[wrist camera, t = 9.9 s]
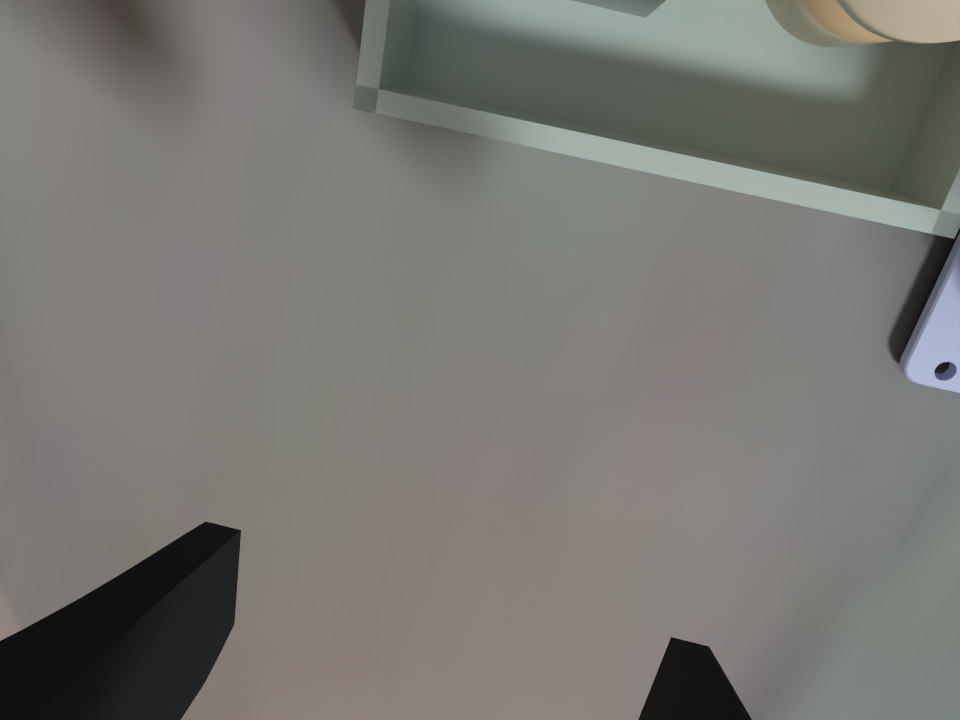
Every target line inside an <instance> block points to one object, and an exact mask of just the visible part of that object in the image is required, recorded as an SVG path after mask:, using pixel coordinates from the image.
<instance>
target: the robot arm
mask: <svg viewBox="0 0 960 720" xmlns="http://www.w3.org/2000/svg"><path fill="white" fill-rule="evenodd" d="M943 362H949V368H948V369H947V370H946V371H945V372H944V373H942V374H940V375H934V372H935V368H936V367H937V366H938V365H939V364H941V363H943ZM899 365H900V369H901V372H902V373H903V374H904V375H905V376H906V377H907V378H908V379H909V380H910V381H913V382H915V383H918V384H922V385H926V386H931V387H935V388H940V389H944V390H948V391H953V392H957V393H960V233H959V235H958V237H957V239H956V241H955V243H954V246H953V248H952V250H951V252H950V254H949V256H948V258H947V261H946V263H945V265H944V267H943V269H942V271H941V273H940V275H939V278H938V280H937V282H936V284H935V286H934V288H933V290H932V292H931V295H930V297H929V299H928V301H927V303H926V305H925V307H924V310H923V312H922V314H921V316H920V318H919V320H918V322H917V324H916V327H915V329H914V331H913V333H912V335H911V337H910V339H909V341H908V344H907V346H906V348H905V350H904V352H903V354H902V356H901V360H900V364H899ZM240 537H241V530H238V529H233V528H229V527H225V526H221V525H217V524H213V523H209V522H204V523H203V524H201V525H199V526H198V527H196V528H194V529H193V530H191V531H189V532H188V533H186V534H185V535H183V536H181V537H180V538H178V539H177V540H175V541H173V542H172V543H170V544H169V545H167V546H165V547H164V548H162V549H161V550H159V551H157V552H156V553H154V554H153V555H151V556H149V557H148V558H146V559H145V560H143V561H141V562H140V563H138V564H137V565H135V566H133V567H132V568H130V569H129V570H127V571H125V572H124V573H122V574H120V575H119V576H117V577H115V578H114V579H112V580H110V581H109V582H107V583H105V584H103V585H102V586H100V587H98V588H97V589H95V590H93V591H92V592H90V593H88V594H87V595H85V596H83V597H82V598H80V599H78V600H76V601H75V602H73V603H71V604H69V605H67V606H65V607H63V608H62V609H60V610H58V611H56V612H54V613H52V614H51V615H49V616H47V617H45V618H43V619H41V620H40V621H38V622H36V623H34V624H32V625H30V626H29V627H27V628H25V629H23V630H21V631H19V632H17V633H15V634H13V635H11V636H9V637H7V638H5V639H3V640H1V641H0V720H181V718H182V717H183V715H184V714H185V712H186V711H187V709H188V708H189V706H190V705H191V703H192V701H193V700H194V698H195V697H196V695H197V694H198V692H199V691H200V689H201V688H202V686H203V684H204V683H205V681H206V679H207V677H208V675H209V673H210V672H211V670H212V668H213V666H214V664H215V662H216V660H217V658H218V656H219V654H220V652H221V650H222V648H223V646H224V644H225V642H226V640H227V638H228V636H229V634H230V632H231V630H232V628H233V626H234V621H235V607H236V593H237V579H238V565H239V551H240ZM639 720H752V719H751V718H750V716H749V714H748V713H747V711H746V709H745V707H744V706H743V704H742V702H741V701H740V699H739V697H738V695H737V694H736V692H735V690H734V689H733V687H732V685H731V683H730V682H729V680H728V678H727V676H726V675H725V673H724V671H723V670H722V668H721V666H720V664H719V663H718V661H717V659H716V658H715V656H714V654H713V653H712V651H711V649H710V648H709V647H708V646H704V645H700V644H696V643H692V642H688V641H684V640H680V639H676V638H672V637H671V639H670V642H669V644H668V647H667V649H666V652H665V654H664V657H663V659H662V662H661V664H660V667H659V669H658V672H657V674H656V677H655V679H654V682H653V684H652V687H651V689H650V692H649V695H648V697H647V700H646V702H645V705H644V707H643V710H642V712H641V715H640V717H639Z"/></svg>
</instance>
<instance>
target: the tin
mask: <svg viewBox="0 0 960 720" xmlns="http://www.w3.org/2000/svg"><path fill="white" fill-rule="evenodd" d="M572 1H576V2H580V3H584V4H589V5H593V6H597V7H601V8H606V9H610V10H614V11H619V12H623V13H627V14H631V15H636V16H640V17H644V18H646V17H647V16H648V15H650V14H651V13H652V12H653V11H654V10H655V9H657V8H658V7H659V6H660V5H661V4H663V3H664V2H665V1H666V0H572Z"/></svg>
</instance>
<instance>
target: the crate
mask: <svg viewBox="0 0 960 720" xmlns="http://www.w3.org/2000/svg"><path fill="white" fill-rule="evenodd" d="M353 108H354V109H358V110H363V111H367V112H372V113H377V114H381V115H386V116H390V117H395V118H400V119H404V120H409V121H413V122H418V123H423V124H427V125H432V126H437V127H441V128H446V129H450V130H455V131H460V132H464V133H469V134H473V135H478V136H483V137H487V138H492V139H496V140H501V141H506V142H510V143H515V144H520V145H524V146H529V147H533V148H538V149H543V150H547V151H552V152H556V153H561V154H566V155H570V156H575V157H579V158H584V159H589V160H593V161H598V162H602V163H607V164H612V165H616V166H621V167H626V168H630V169H635V170H639V171H644V172H649V173H653V174H658V175H662V176H667V177H672V178H676V179H681V180H685V181H690V182H695V183H699V184H704V185H709V186H713V187H718V188H722V189H727V190H732V191H736V192H741V193H745V194H750V195H755V196H759V197H764V198H768V199H773V200H778V201H782V202H787V203H791V204H796V205H801V206H805V207H810V208H815V209H819V210H824V211H828V212H833V213H838V214H842V215H847V216H851V217H856V218H861V219H865V220H870V221H874V222H879V223H884V224H888V225H893V226H898V227H902V228H907V229H911V230H916V231H921V232H925V233H930V234H934V235H939V236H944V237H948V238H953V239H954V238H955V236H956V234H957V232H958V230H959V228H960V40H958V41H951V42H942V43H931V44H910V43H902V42H896V41H890V42H881V43H872V44H863V45H853V46H844V47H822V46H815V45H812V44H809V43H806V42H803V41H801V40H799V39H797V38H795V37H794V36H792V35H791V34H789V33H788V32H787V31H786V30H785V29H784V28H783V27H781V26H780V24H779V23H778V22H777V21H776V19H775V18H774V17H773V15H772V13H771V11H770V10H769V8H768V5H767V3H766V0H666V1H665V2H664V3H663V4H661V5H660V6H659V7H658V8H657V9H655V10H654V11H653V12H652V13H651V14H650V15H648V16H647V17H646V18H644V17H640V16H636V15H631V14H627V13H623V12H619V11H614V10H610V9H606V8H601V7H597V6H593V5H589V4H584V3H580V2H576V1H572V0H366V3H365V12H364V20H363V29H362V38H361V46H360V55H359V64H358V73H357V81H356V90H355V99H354V107H353Z"/></svg>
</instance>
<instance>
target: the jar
mask: <svg viewBox="0 0 960 720" xmlns="http://www.w3.org/2000/svg"><path fill="white" fill-rule="evenodd" d="M766 3H767V5H768V8H769V10H770V11H771V13H772V15H773V17H774V18H775V19H776V21H777V22H778V23H779V24H780V26H781V27H783V28H784V29H785V30H786V31H787V32H788V33H789V34H791V35H792V36H794V37H795V38H797V39H799V40H801V41H803V42H806V43H809V44H812V45H815V46H822V47H844V46H853V45H863V44H872V43H881V42H890V41H896V42H902V43H910V44H931V43H942V42H951V41H958V40H960V0H766Z"/></svg>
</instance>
